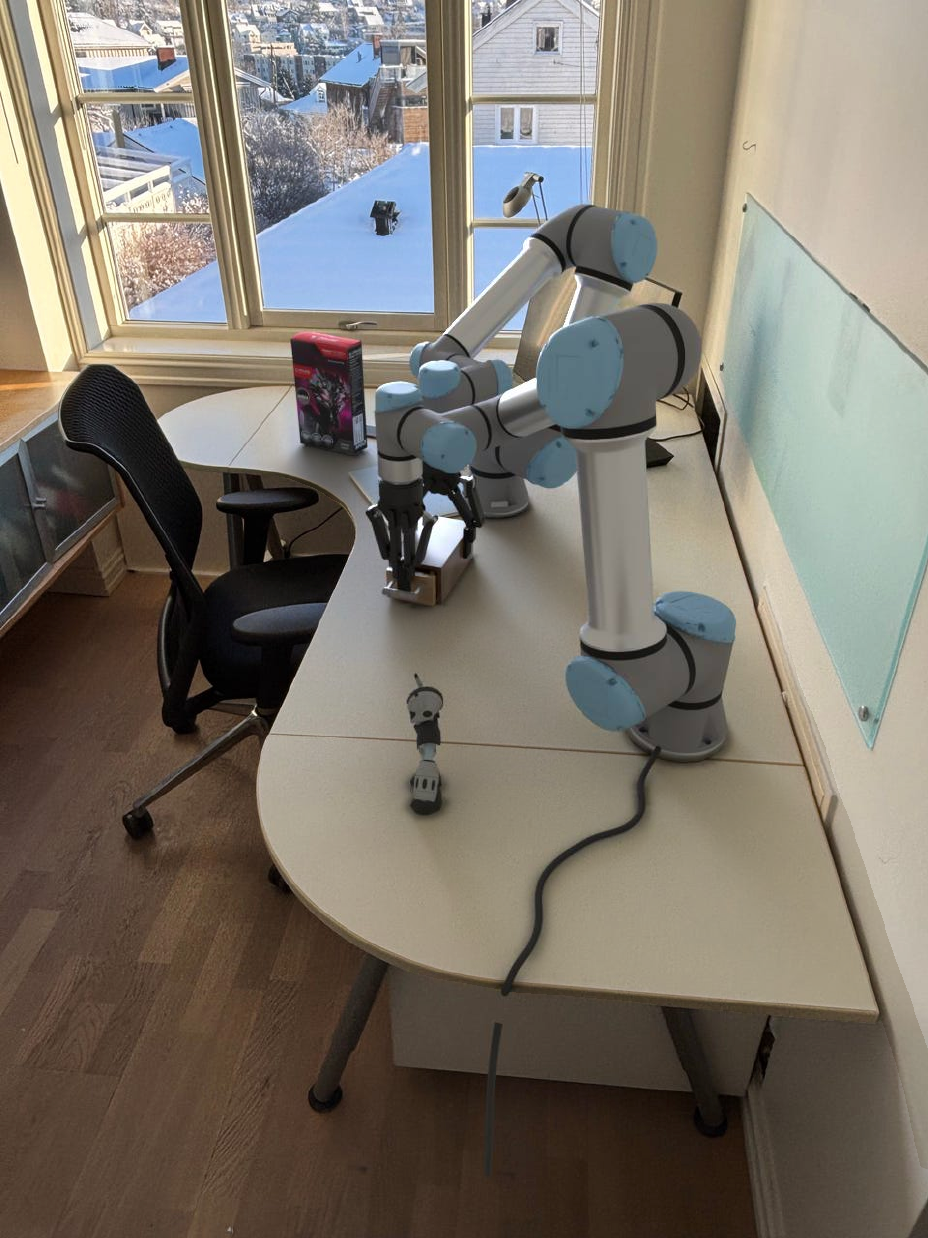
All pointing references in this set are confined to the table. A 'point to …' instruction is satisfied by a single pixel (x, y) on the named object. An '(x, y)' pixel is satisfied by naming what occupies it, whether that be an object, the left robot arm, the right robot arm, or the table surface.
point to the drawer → (414, 587)
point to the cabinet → (443, 553)
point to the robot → (426, 746)
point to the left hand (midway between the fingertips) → (440, 550)
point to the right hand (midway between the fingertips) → (404, 593)
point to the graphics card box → (329, 392)
